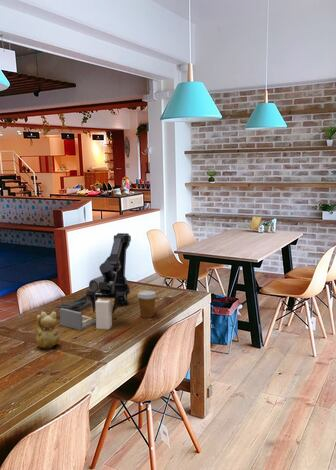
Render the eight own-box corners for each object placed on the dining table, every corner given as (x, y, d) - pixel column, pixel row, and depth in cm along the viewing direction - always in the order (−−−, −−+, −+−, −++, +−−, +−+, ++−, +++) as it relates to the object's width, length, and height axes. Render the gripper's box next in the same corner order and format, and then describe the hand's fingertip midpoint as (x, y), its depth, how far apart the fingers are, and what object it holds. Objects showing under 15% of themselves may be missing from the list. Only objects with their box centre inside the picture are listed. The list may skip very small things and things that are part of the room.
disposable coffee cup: (160, 315, 214) (160, 292, 212) (147, 320, 207) (146, 296, 205) (147, 310, 220) (147, 288, 218) (134, 315, 214) (133, 292, 212)
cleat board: (76, 317, 212) (75, 302, 210) (96, 322, 205) (95, 306, 204) (60, 324, 203) (59, 308, 201) (80, 330, 196) (79, 313, 194)
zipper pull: (53, 305, 211) (78, 291, 234) (54, 318, 212) (78, 302, 235) (69, 307, 208) (92, 292, 231) (70, 320, 209) (93, 304, 233)
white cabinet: (100, 324, 203) (99, 298, 201) (112, 324, 202) (111, 298, 200) (96, 328, 197) (95, 302, 195) (108, 329, 197) (107, 302, 194)
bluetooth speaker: (114, 284, 269) (113, 269, 267) (125, 287, 263) (125, 271, 262) (88, 294, 251) (87, 277, 249) (99, 296, 245) (99, 280, 244)
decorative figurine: (60, 341, 183) (58, 308, 181) (59, 349, 175) (57, 315, 173) (37, 343, 182) (35, 310, 179) (35, 352, 174) (32, 317, 171)
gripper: (86, 274, 201) (79, 303, 192) (124, 275, 199) (119, 305, 190) (92, 285, 210) (85, 314, 201) (128, 286, 208) (123, 316, 199)
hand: (103, 312), depth 198 cm, fingers open, 9 cm apart
